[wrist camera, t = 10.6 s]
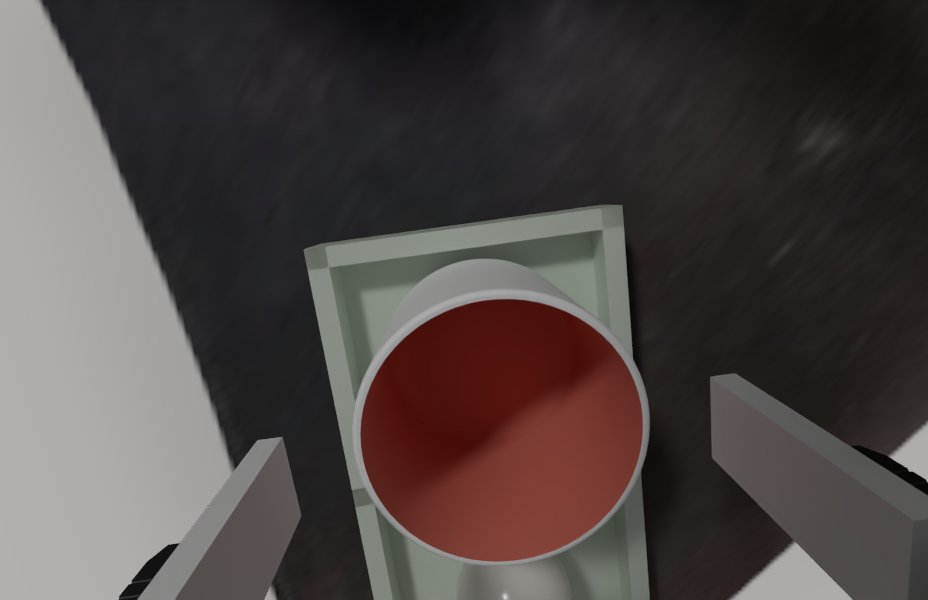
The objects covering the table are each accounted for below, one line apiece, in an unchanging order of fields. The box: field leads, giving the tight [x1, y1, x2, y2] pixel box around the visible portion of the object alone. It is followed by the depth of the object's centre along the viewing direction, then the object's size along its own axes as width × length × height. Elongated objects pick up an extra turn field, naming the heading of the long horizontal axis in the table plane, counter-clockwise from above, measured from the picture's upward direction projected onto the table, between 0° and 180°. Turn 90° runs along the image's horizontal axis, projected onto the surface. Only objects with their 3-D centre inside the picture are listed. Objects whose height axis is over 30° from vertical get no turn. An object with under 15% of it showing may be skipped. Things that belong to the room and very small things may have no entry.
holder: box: [304, 205, 650, 600], centre depth 27 cm, size 26×15×3 cm, turn 8°
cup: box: [352, 259, 650, 566], centre depth 21 cm, size 10×10×10 cm
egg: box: [456, 555, 572, 600], centre depth 26 cm, size 6×6×6 cm
